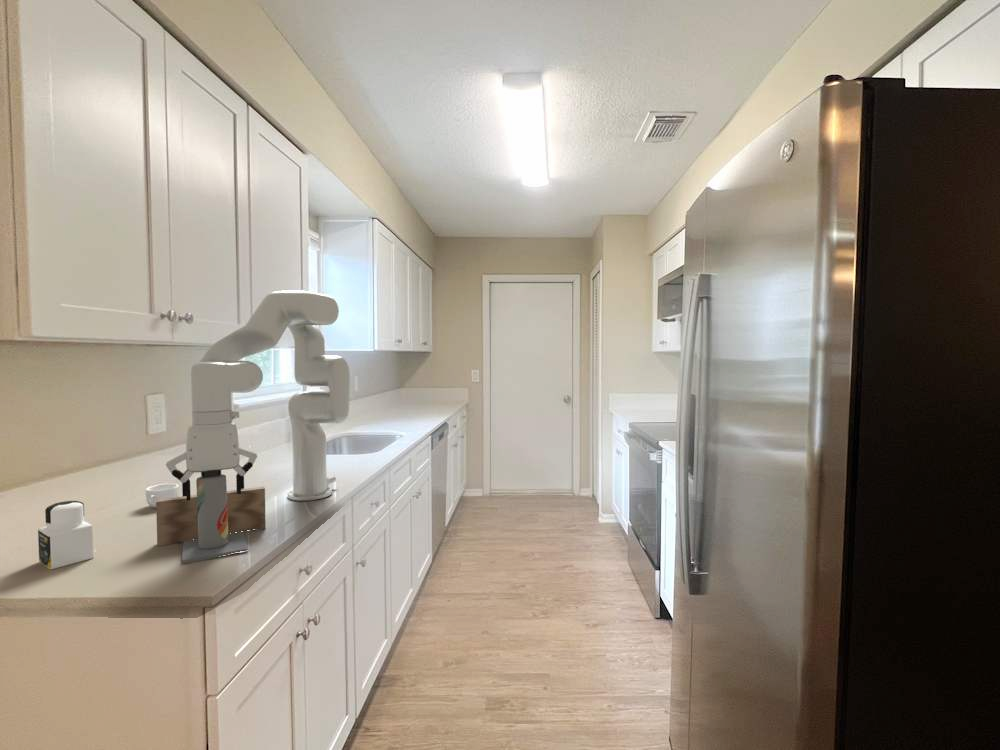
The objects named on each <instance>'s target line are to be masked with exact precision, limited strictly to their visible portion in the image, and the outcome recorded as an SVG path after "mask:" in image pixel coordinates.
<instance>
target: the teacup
mask: <svg viewBox="0 0 1000 750" xmlns="http://www.w3.org/2000/svg"><path fill="white" fill-rule="evenodd" d="M179 488H180V486H179V484H177V483H160V484H157V485H155V484H154V485H151V486H148V487H146V488H145V498H146V499H145V500H146V502H147V504H148V506H150V507H151V508H153V507H155V508H154V509H156V501H157V500H159V499H167V498H175V497H179V493H180V492H179V491H180V490H179Z"/></svg>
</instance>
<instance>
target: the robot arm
mask: <svg viewBox="0 0 1000 750" xmlns="http://www.w3.org/2000/svg"><path fill="white" fill-rule="evenodd" d="M339 312H340V311H339V306H338V302H337V301H336V299H335V298H333V296H331V295H328V294H323V293H322V294H321V293H317V292H312V291H308V290H307V291H305V290H281V291H280V290H279V291H278V290H277V291H273V292H270V293H268V294H267V295H265V297H264V298H263V299H262V301H261V302H260V303H259V305H258V306H257V308H256V310H255V311H254V312H253V314H252V315H251V317H249V319H248V321H247V322H246V324H245V325H244V326H242V327H240V328H239V329H236V330H234V331H233V332H231V333H229V334H228V335H226V336H224V337H222V338H221V339H219V340H218V341H216V342H215V343H214V344H212V346H210V347H209V348H208V349H207V351H206V352H205V354H204V355H203V357H202V358H201V359H200V361H199V362H196V363H194V364H193V365H192V366H191V368H190V369H191V370H190V382H191V383H190V385H191V386H190V387H191V389H190V390H191V419H192V420H191V421H192V424H190V425H188V426H187V427H188V428H187V432H186V441H185V443H186V444H185V452H183V453H181V454H179V455H178V456H175V457H174V458H172V459H170V460H168V461H166V463H165V466H166V467H167V470H168V471H169V472H170V473H171V475H172V477H174V478H176V479H177V480H179V481H180V482H181V485H182V486H181V488H182V491H181V492H182V497H183V496H186V500H187V501H189V500H190V498H191V479H190V478H191V477H192V476H193V474H194V473H201V472H206V471H210V470H221V471H224V470H231V469H233V471H235V472H236V475H235V476H236V477H235V480H236V483H235V484H236V486H235V487H236V490H237V494H241V489H245V476H246V474H247V473H248V471H249V470H251V468H253V466H254V463H255V462H256V460H257V458H258V455H257V453H255V452H253V451H250V450H247V449H244V448H242V447H240V443H239V434H238V429H237V424H236V422H233V421H234V420H235V419H239V418H240V412H239V411H234V410H233V408H232V394H246V393H252V392H254V391H256V390H257V389H258V388H259V387H260V386H261V384H262V383H263V378H264V377H263V376H264V374H263V371H262V369H261V367H260V366H259V365H258V364H256V363H255V362H252V361H250V360H242V359H244V358H247V357H250V356H254V355H256V354H260V353H264V352H265V351H268V350H270V349H272V348H274V347H275V346H277V344H278V343H279V341H280V339H281V338H282V336H283V335H284V333H285V331H286V329H287V328H288V329H289V330H290V332H291V334H292V336H293V340H294V379H295V382H296V384H297V385H299V386H301V387H309V388H328V389H329V391H320V390H319V391H314V390H313V391H310V390H309V391H308V390H307V391H300V392H296V393H294V394H293V395H292V396H291V397H290V399H289V400H288V404H287V405H288V406H287V409H288V415H289V420H290V424H291V434H292V435H291V438H292V487H293V488H292V489H291V490H290V491H288V492H287V498H288V500H292V501H300V502H301V501H304V502H305V501H314V500H315V501H316V500H320V499H321V500H322V499H324V498H326V497H327V498H328V497H329V496H330V495H332V493H333V489H332V488H331V487H329V485H330V484H333V483H335V482H337V479H336V476H334V475H333V476H330V477H327V436H326V433H325V431H324V429H323V427H322V426H321V424H334V425H335V424H336V425H337V424H342V423H343V422H346V420H347V418H348V416H349V412H350V390H351V389H350V385H351V384H350V381H351V380H350V379H351V377H350V368H349V364H348V362H347V361H346V359H345V357H342V356H341V355H340V356H339V355H326V353H325V351H326V350H325V349H326V348H325V347H326V346H325V341H326V340H325V338H324V335H323V334H322V332H321V331H320V329H319V328H318V326H331V325H332V324H334V323H336V321H337V319H338V318H339ZM240 455H241V456H243V457H246V458H248V459H247V462H246V463H245V464H244V465H243V466H241V465H240V461H241V460H240V458H241V457H240ZM183 461H185V465H186V470H185V471H184V472H182V471H181V470H180V469H178V468H177V465H179V463H182V462H183Z"/></svg>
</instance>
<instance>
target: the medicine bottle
mask: <svg viewBox="0 0 1000 750" xmlns="http://www.w3.org/2000/svg"><path fill="white" fill-rule="evenodd" d="M44 512H45V513H44V514H45V526H42V527H39V528H38V529H37V537H38V540H37V541H38V561H39V563H41V564H42V565H43V566H45V568H48V569H49V570H50V571H51V570H54V569H58V568H62V567H66V566H69V565H73V564H78V563H80V562H84V561H87V560H91V559H94V556H95V555H94V553H95V552H94V551H95V550H94V526H93V524H90V523H89V522H87V521H85V503H84V502H82V501H79V500H64V501H59V502H56V503H53V504H51V505H49V506H47V507H46V508H45V511H44Z"/></svg>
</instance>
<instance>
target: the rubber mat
mask: <svg viewBox="0 0 1000 750" xmlns="http://www.w3.org/2000/svg"><path fill="white" fill-rule="evenodd" d="M244 533H245V532H237V533H231V534H228V542H227V544H225V545H223V546H221V547H218V548H213V549H202V548H200V547H199V539H194V540H188V541H183V542H182V543H183V544H182V556H181V557H182V558H181V564H182V565H186V564H189V563H190V562H191V563H195V562H202V561H207V560H211V558H213V559H216V558H215V557H218V558H220V557H219V556H223V555H228V554H231V553H235V552H240V551H246V550H248V549H249V547H248V544H247V541H246V536H245V534H244ZM248 551H249V550H248ZM206 559H207V560H206ZM185 563H186V564H185Z"/></svg>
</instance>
